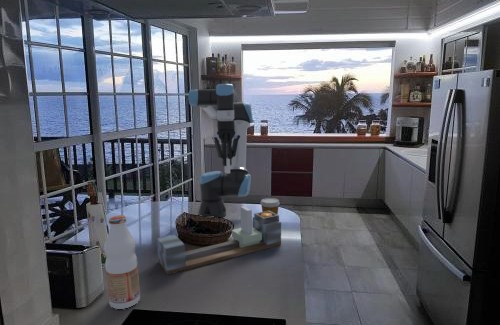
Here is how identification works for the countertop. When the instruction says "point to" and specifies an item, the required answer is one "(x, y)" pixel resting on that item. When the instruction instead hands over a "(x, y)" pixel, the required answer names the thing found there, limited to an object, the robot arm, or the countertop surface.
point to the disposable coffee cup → (270, 205)
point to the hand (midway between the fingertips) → (227, 172)
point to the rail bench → (221, 255)
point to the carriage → (246, 230)
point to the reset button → (266, 214)
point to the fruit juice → (121, 265)
